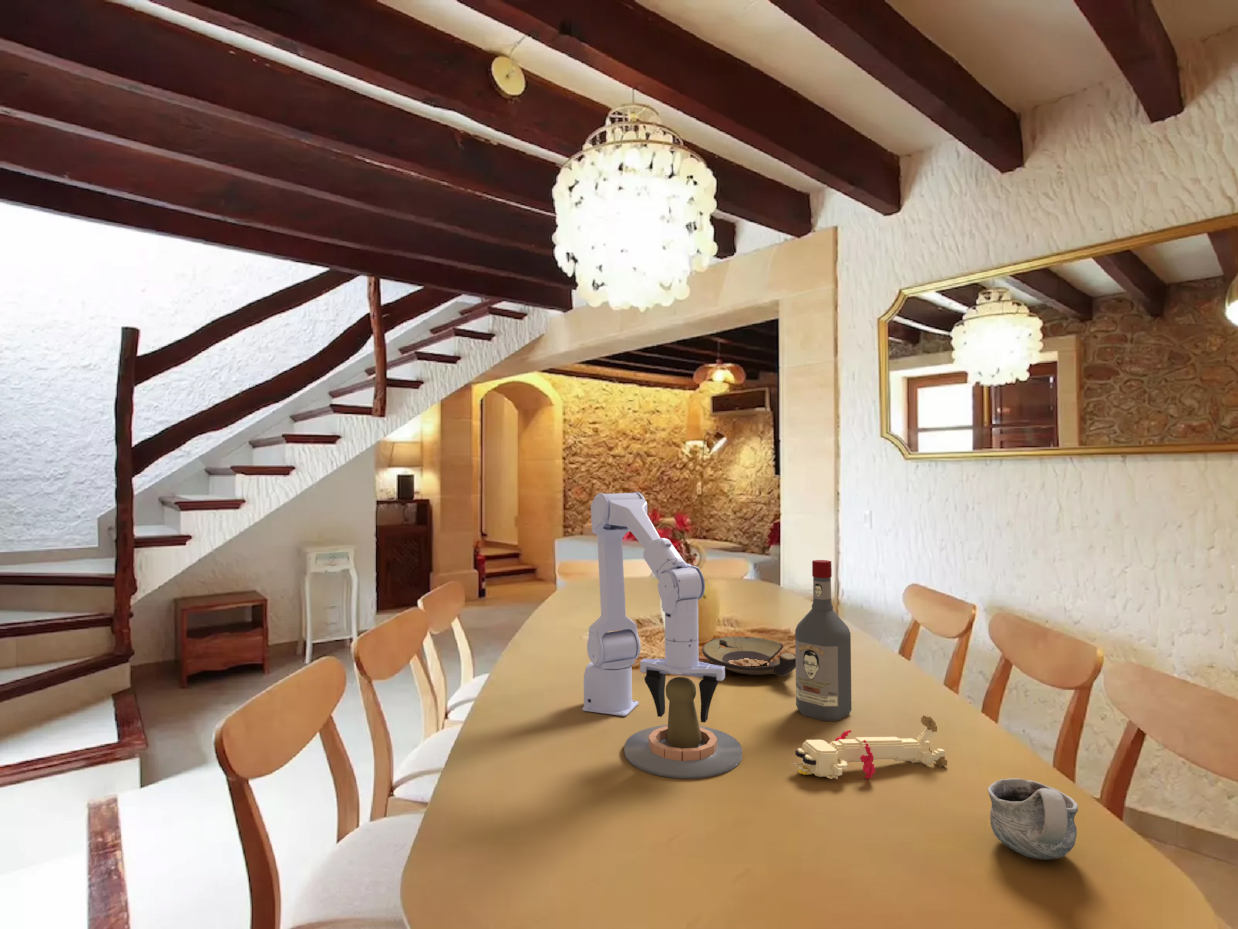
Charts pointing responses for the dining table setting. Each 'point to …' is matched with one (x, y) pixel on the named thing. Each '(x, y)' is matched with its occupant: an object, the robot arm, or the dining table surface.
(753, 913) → the dining table surface
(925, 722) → the cream toy figure
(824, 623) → the liquor
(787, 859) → the dining table surface
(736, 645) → the oil lamp
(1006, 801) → the mug
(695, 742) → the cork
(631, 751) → the ring platter
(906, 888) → the dining table surface
